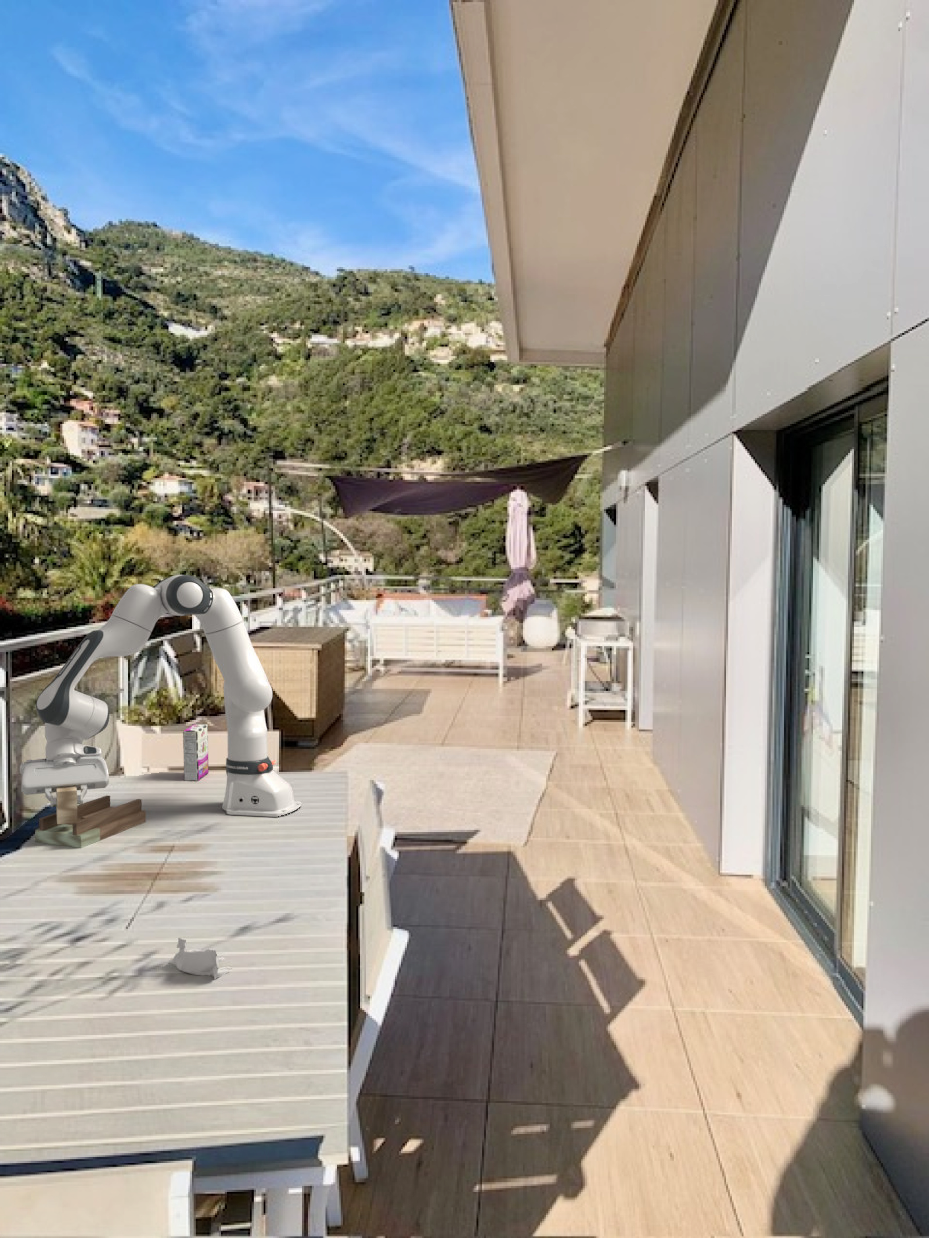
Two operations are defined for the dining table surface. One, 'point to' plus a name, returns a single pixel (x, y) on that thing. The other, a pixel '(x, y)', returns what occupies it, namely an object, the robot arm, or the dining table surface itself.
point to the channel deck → (91, 823)
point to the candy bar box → (195, 752)
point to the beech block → (66, 805)
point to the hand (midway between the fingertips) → (66, 804)
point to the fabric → (198, 961)
